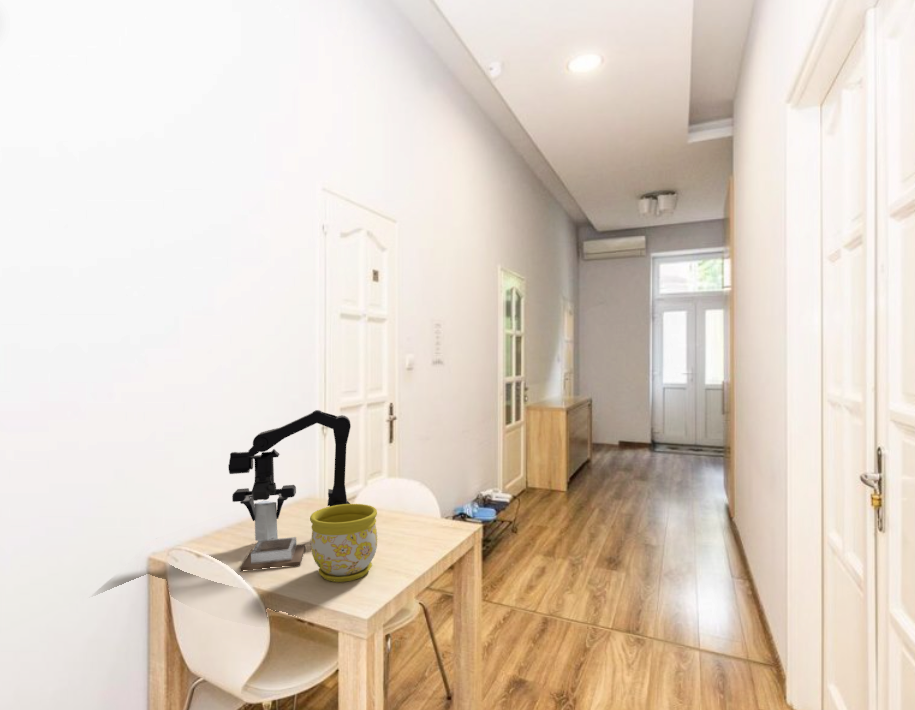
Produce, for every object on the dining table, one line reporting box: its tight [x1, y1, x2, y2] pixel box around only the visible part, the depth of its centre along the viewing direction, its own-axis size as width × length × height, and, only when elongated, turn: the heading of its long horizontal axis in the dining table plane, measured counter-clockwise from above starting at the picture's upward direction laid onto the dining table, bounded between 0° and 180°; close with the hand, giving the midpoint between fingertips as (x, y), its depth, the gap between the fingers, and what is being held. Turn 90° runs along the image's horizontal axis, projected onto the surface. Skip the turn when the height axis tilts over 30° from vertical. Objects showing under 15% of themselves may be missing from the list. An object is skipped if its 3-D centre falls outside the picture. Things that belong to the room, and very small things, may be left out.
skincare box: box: [254, 500, 279, 542], centre depth 165 cm, size 6×4×12 cm
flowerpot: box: [309, 503, 378, 583], centre depth 140 cm, size 18×18×16 cm
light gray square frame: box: [251, 536, 297, 564], centre depth 151 cm, size 11×11×3 cm
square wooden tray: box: [240, 543, 306, 572], centre depth 151 cm, size 16×14×1 cm
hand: (265, 519), depth 165 cm, fingers closed on skincare box, 7 cm apart
